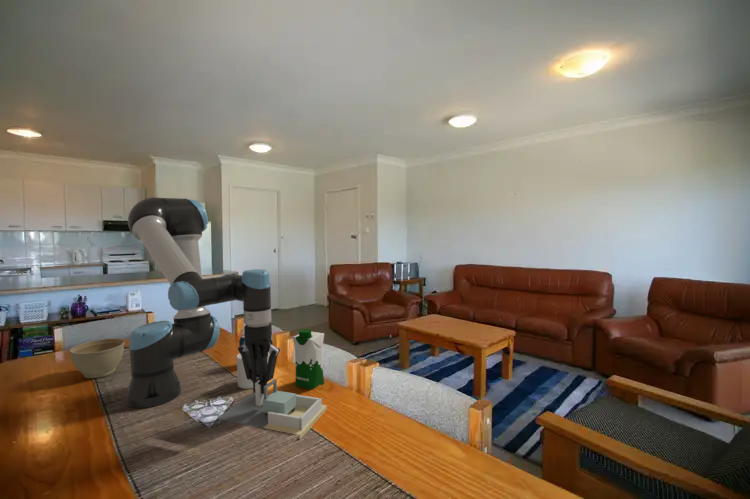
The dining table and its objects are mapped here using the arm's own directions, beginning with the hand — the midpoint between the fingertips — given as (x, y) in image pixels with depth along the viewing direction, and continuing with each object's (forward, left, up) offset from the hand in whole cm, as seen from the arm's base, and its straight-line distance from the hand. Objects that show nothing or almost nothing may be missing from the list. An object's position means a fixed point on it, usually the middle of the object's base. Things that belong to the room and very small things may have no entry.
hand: (260, 403), depth 106 cm
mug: (-14, +16, -3) cm, 22 cm away
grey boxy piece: (+6, 0, -2) cm, 7 cm away
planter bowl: (-76, +7, -3) cm, 76 cm away
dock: (+4, 0, -3) cm, 5 cm away
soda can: (-27, +30, -3) cm, 40 cm away
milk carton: (+5, +20, -3) cm, 21 cm away
